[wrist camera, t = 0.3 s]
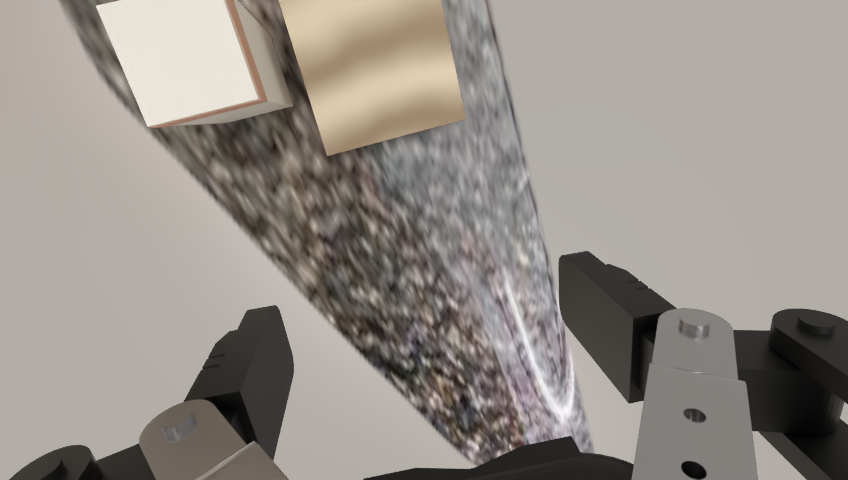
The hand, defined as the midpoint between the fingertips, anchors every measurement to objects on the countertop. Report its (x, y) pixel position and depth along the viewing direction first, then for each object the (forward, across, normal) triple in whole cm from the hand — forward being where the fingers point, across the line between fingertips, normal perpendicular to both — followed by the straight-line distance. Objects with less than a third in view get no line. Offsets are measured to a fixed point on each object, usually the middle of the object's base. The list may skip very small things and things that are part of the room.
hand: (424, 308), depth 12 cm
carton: (+28, +10, -7) cm, 31 cm away
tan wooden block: (+29, 0, -8) cm, 30 cm away
